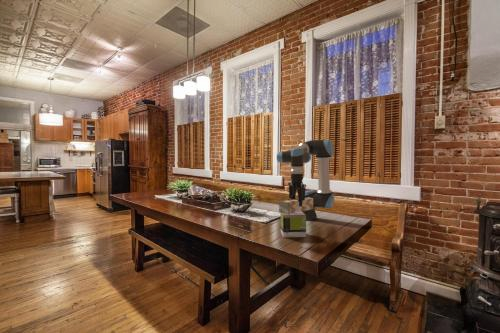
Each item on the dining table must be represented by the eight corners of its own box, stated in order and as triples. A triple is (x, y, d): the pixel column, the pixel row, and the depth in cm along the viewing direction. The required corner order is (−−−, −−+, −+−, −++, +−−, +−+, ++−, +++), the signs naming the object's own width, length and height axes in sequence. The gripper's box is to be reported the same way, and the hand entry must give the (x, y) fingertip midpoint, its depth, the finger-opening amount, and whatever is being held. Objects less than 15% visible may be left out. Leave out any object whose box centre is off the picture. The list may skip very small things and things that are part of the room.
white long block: (306, 207, 166) (306, 196, 165) (315, 209, 159) (315, 198, 159) (279, 212, 153) (279, 200, 152) (287, 214, 146) (287, 203, 146)
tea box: (302, 232, 169) (302, 211, 168) (306, 237, 159) (306, 214, 158) (280, 232, 168) (280, 211, 168) (282, 237, 158) (283, 214, 157)
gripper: (283, 172, 159) (283, 208, 160) (302, 174, 145) (302, 214, 146) (291, 172, 163) (291, 207, 165) (311, 173, 149) (311, 212, 151)
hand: (296, 210), depth 156 cm, fingers closed on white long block, 4 cm apart
